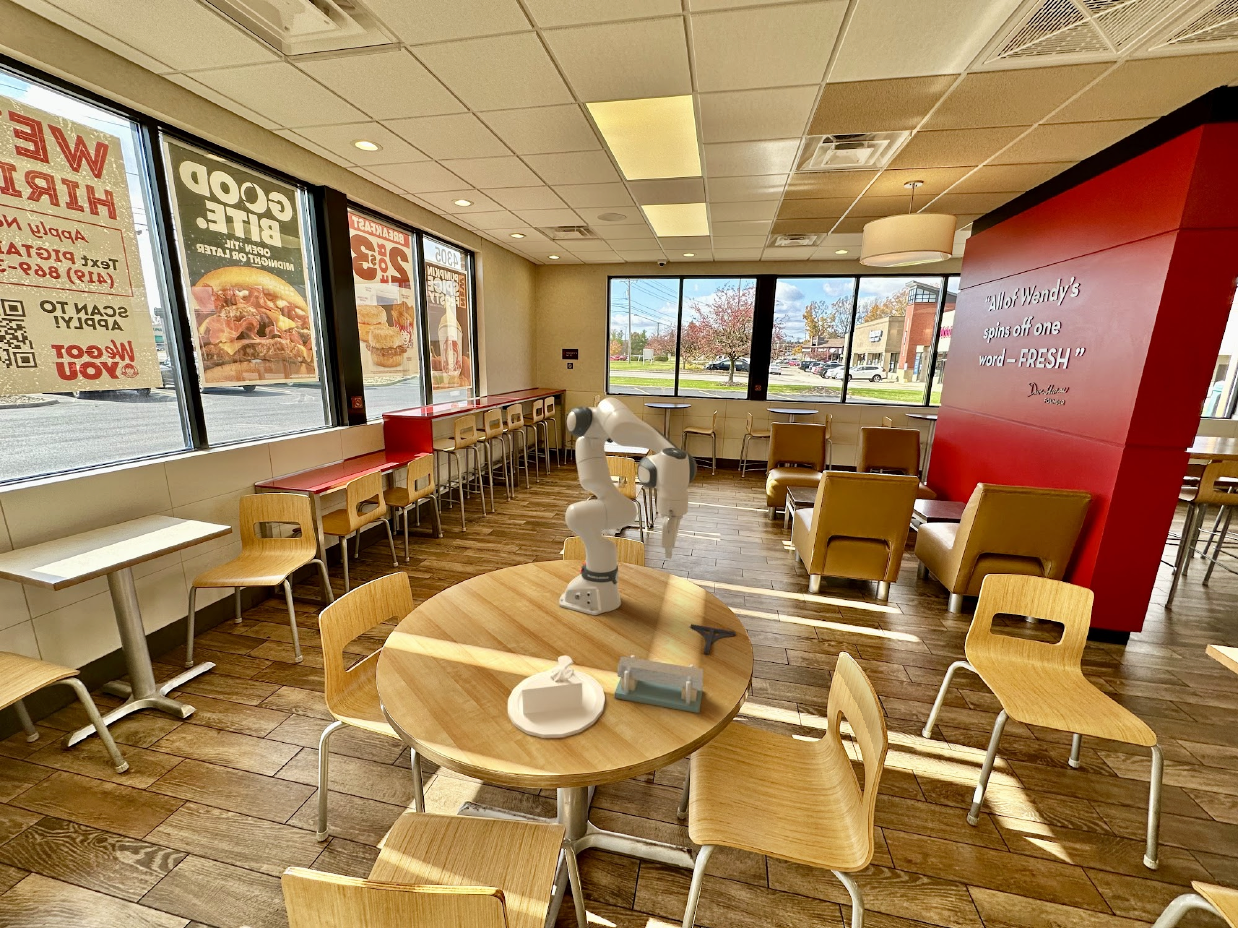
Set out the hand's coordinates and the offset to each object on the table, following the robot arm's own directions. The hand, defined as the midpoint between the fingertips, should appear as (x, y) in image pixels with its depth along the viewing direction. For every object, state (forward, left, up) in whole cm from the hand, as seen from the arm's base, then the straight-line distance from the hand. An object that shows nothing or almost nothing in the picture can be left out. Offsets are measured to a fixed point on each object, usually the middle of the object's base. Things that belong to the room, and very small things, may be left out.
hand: (670, 550), depth 144 cm
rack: (+1, -20, -32) cm, 38 cm away
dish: (-24, -30, -33) cm, 51 cm away
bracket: (+12, +9, -33) cm, 36 cm away
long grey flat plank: (+1, -20, -28) cm, 34 cm away
